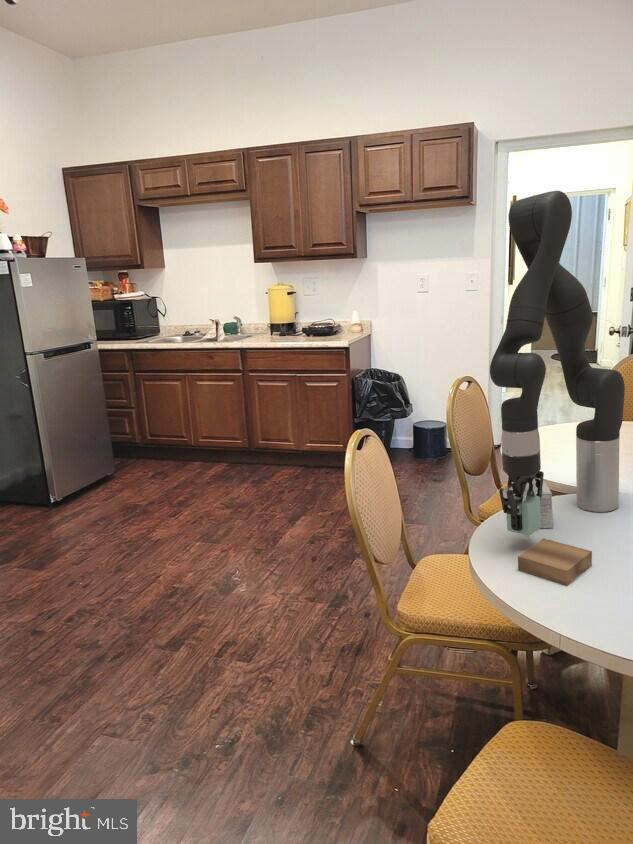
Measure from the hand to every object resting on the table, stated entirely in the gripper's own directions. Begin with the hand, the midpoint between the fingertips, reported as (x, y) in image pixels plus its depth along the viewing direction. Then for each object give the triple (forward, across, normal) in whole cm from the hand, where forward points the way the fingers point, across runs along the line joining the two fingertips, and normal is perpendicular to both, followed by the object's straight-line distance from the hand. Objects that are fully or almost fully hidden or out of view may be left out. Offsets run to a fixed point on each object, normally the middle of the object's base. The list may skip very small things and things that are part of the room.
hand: (523, 524), depth 129 cm
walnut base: (+5, +6, +10) cm, 12 cm away
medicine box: (+5, -13, -3) cm, 14 cm away
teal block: (+1, 0, 0) cm, 1 cm away
